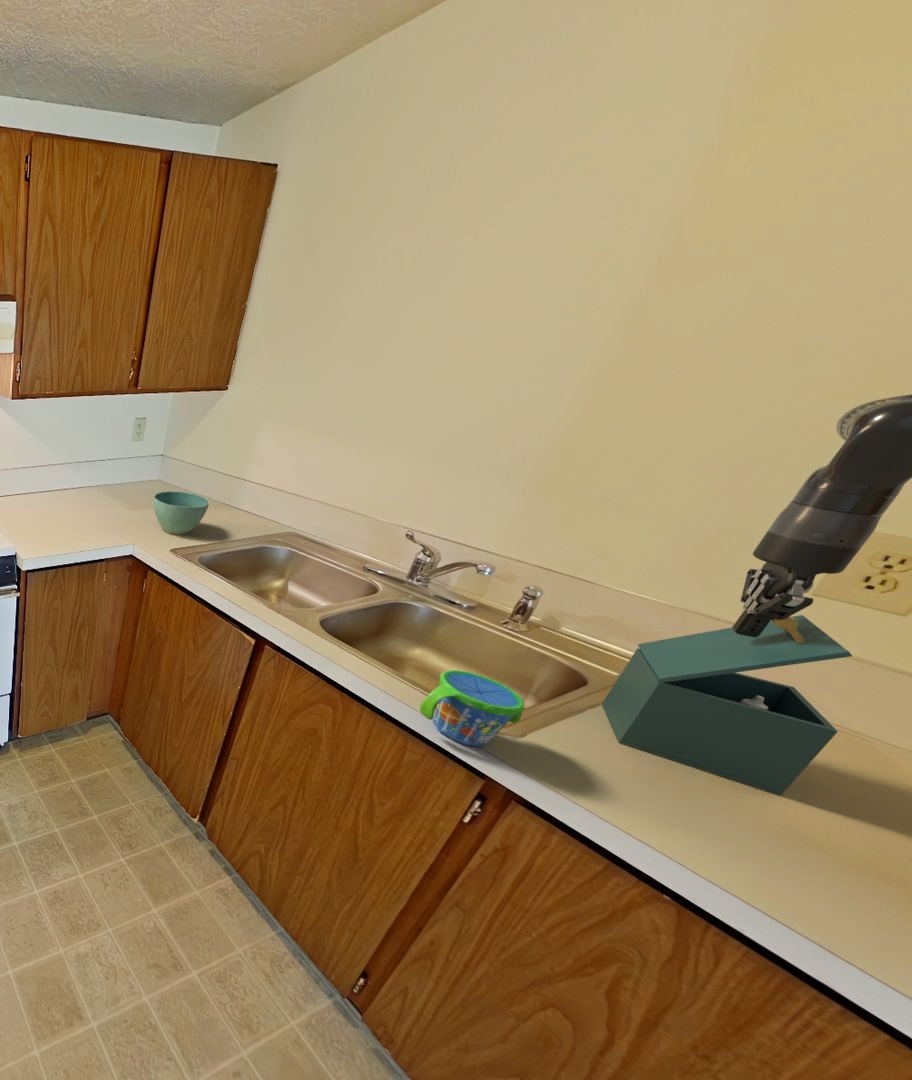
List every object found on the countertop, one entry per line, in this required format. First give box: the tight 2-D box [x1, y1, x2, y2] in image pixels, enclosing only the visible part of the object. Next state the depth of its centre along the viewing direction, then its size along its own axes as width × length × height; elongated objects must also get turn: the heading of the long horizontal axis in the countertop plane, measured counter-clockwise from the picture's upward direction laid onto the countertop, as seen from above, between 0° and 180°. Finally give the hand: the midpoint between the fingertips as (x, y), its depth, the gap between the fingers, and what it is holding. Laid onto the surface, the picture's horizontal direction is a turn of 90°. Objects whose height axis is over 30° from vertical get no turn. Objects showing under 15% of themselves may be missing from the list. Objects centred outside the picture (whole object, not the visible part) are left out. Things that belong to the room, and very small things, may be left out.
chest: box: [601, 647, 839, 797], centre depth 87 cm, size 17×14×13 cm
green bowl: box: [153, 490, 210, 535], centre depth 182 cm, size 18×18×12 cm
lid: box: [637, 614, 853, 683], centre depth 83 cm, size 18×14×5 cm
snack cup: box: [419, 669, 525, 747], centre depth 90 cm, size 16×10×10 cm
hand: (743, 633), depth 82 cm, fingers closed
